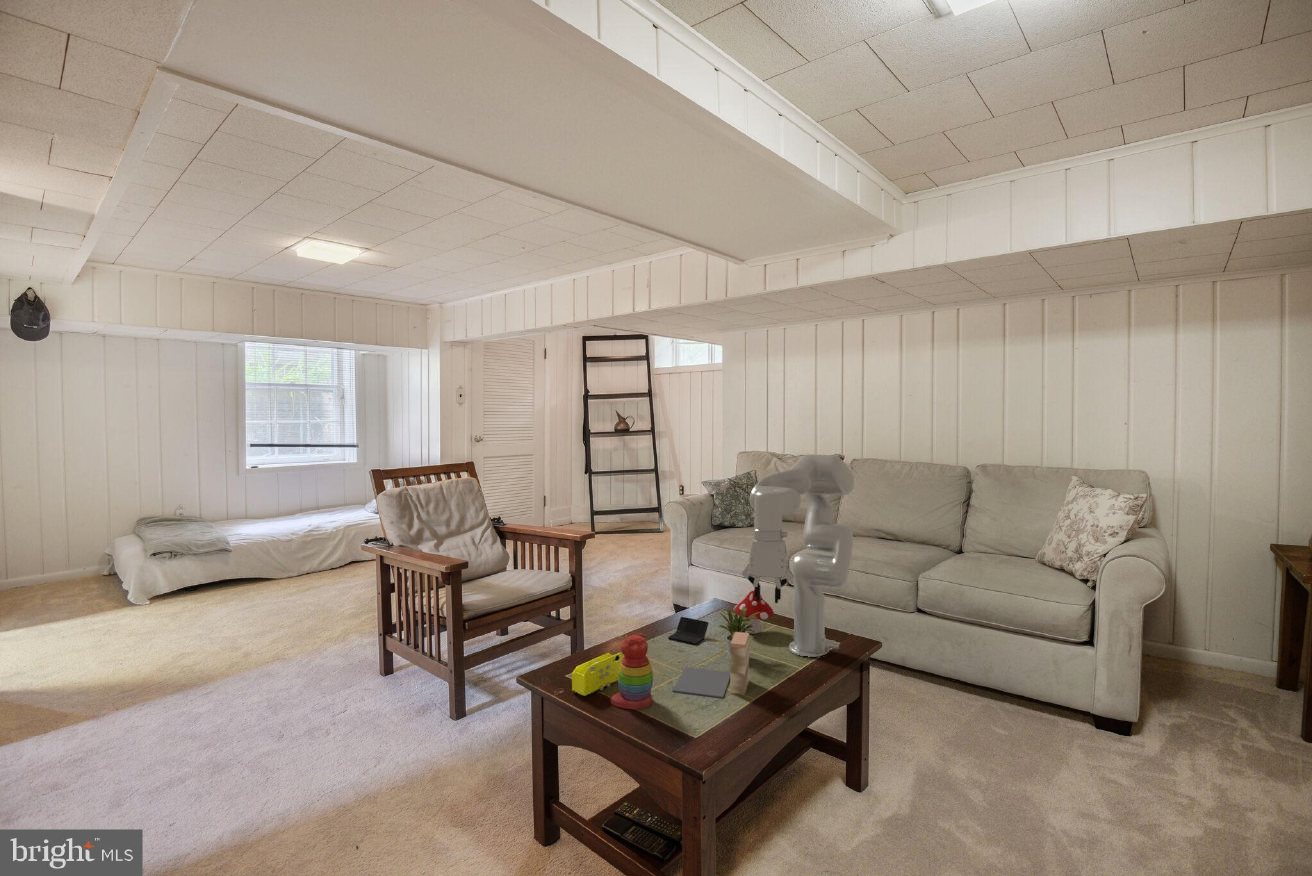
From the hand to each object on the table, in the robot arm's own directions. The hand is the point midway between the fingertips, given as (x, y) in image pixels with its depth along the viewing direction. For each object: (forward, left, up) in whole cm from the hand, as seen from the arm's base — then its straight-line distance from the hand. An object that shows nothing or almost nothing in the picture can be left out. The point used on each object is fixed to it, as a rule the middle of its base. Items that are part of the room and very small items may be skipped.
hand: (767, 600), depth 169 cm
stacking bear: (+33, +16, -26) cm, 45 cm away
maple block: (+7, 0, -25) cm, 26 cm away
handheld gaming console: (+29, -32, -26) cm, 51 cm away
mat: (+18, 0, -25) cm, 31 cm away
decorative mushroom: (+8, -43, -26) cm, 51 cm away
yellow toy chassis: (+46, +10, -26) cm, 54 cm away
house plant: (+10, -19, -26) cm, 34 cm away
